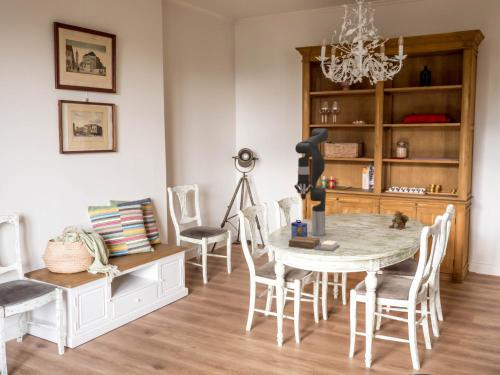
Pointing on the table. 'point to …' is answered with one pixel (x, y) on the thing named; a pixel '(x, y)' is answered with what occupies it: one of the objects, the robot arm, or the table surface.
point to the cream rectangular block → (329, 245)
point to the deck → (304, 242)
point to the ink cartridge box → (298, 229)
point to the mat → (324, 249)
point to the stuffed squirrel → (399, 220)
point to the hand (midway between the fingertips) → (303, 199)
